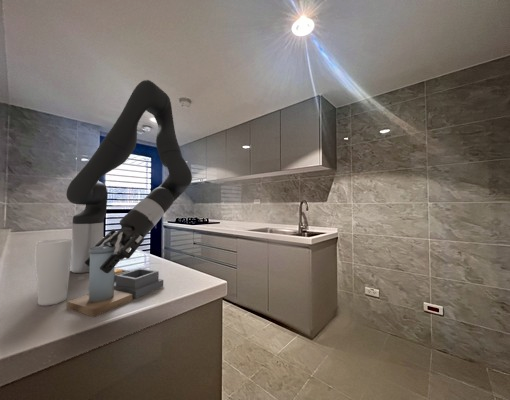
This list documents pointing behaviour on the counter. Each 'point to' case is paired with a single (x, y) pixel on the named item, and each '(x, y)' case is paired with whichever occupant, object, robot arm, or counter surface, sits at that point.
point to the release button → (117, 271)
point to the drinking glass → (52, 270)
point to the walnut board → (98, 303)
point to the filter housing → (137, 282)
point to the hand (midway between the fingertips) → (95, 268)
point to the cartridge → (100, 274)
